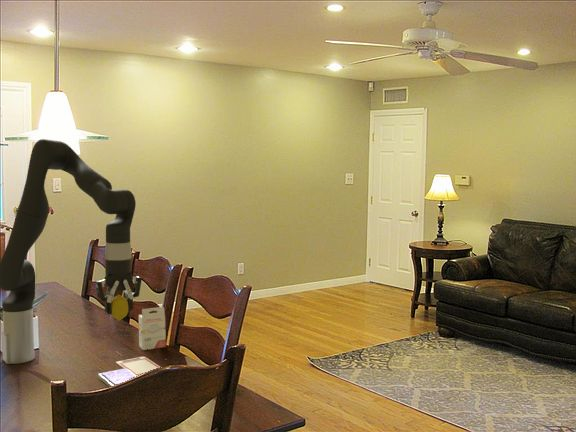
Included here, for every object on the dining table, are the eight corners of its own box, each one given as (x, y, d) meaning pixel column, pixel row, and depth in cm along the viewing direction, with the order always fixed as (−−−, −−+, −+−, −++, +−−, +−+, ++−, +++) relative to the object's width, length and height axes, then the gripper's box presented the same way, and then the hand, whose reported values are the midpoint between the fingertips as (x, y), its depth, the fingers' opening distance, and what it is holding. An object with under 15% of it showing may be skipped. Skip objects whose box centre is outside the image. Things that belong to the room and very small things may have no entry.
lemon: (118, 324, 185) (118, 297, 184) (105, 321, 188) (105, 295, 187) (132, 320, 190) (132, 294, 189) (119, 317, 193) (119, 291, 192)
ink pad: (114, 390, 183) (113, 385, 183) (98, 377, 193) (98, 372, 193) (143, 384, 188) (143, 379, 188) (126, 372, 199) (126, 367, 199)
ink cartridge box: (162, 343, 229) (161, 303, 227) (166, 347, 224) (165, 306, 223) (138, 346, 225) (138, 306, 223) (142, 350, 221) (141, 309, 219)
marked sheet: (137, 378, 193) (137, 377, 193) (115, 362, 207) (115, 361, 207) (167, 372, 199) (167, 371, 199) (144, 357, 213) (144, 356, 213)
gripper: (98, 261, 180) (99, 319, 182) (146, 256, 188) (146, 312, 190) (90, 257, 186) (90, 313, 188) (136, 253, 194) (136, 307, 196)
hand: (119, 312), depth 189 cm, fingers closed on lemon, 5 cm apart
